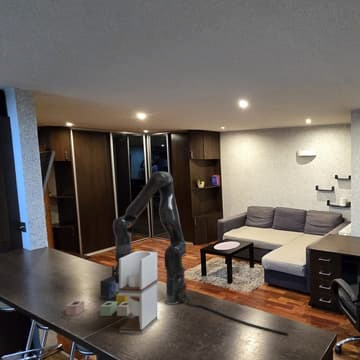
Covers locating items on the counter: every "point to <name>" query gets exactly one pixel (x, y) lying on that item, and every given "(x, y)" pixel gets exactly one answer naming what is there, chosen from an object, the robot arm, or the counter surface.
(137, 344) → the counter surface
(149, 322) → the white shelf unit
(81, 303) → the blush block
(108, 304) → the sage block
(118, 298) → the mustard block
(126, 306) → the cream block
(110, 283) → the small box
